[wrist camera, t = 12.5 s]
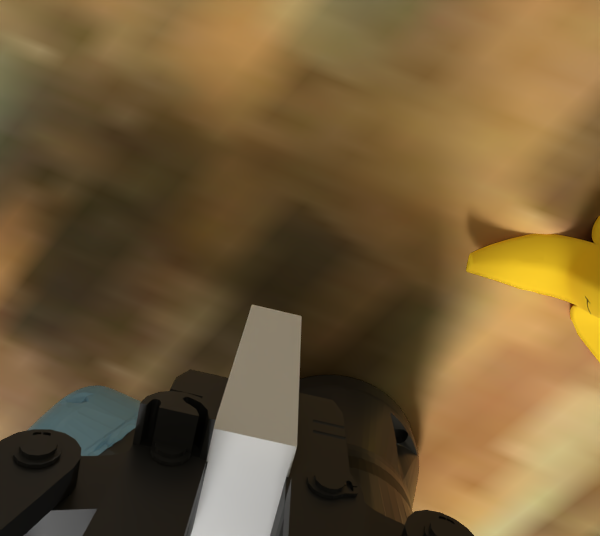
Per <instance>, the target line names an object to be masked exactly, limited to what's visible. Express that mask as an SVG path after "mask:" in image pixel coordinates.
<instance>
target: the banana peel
mask: <svg viewBox="0 0 600 536" xmlns="http://www.w3.org/2000/svg"><path fill="white" fill-rule="evenodd" d="M592 240H593V242H594V243H592V242H588V241H585V240H581V239H577V238H573V237H568V236H563V235H558V234H529V235H524V236H520V237H515V238H511V239H507V240H504V241H500V242H497V243H494V244H491V245H488V246H486V247H483V248H481V249H478V250H476V251H474V252H472V253H470V255H469V258H468V262H467V267H466V271H467V272H469V273H472V274H476V275H479V276H482V277H486V278H489V279H492V280H495V281H498V282H501V283H504V284H507V285H510V286H513V287H516V288H518V289H522V290H528V291H533V292H536V293H538V294H543V295H547V296H551V297H555V298H558V299H561V300H564V301H567V302H569V303H572V304H574V305H573V306H572V308H571V310H570V319H571V320H572V322H573V324H574V326H575V329H576V331H577V334H578V335H579V337H580V338H581V339H582V341H583V342H584V343H585V345H586V346H587V347H588V348H589V350H590V351H591V352H592V354H593V355H594V356H595V357H596V359H597V360H598V361H599V362H600V216H599V217H598V218H597V220H596V221H595V224H594V226H593V229H592Z"/></svg>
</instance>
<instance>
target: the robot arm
mask: <svg viewBox="0 0 600 536" xmlns="http://www.w3.org/2000/svg"><path fill="white" fill-rule="evenodd" d="M301 319H302V316H299V315H295V314H291V313H286V312H282V311H278V310H274V309H269V308H265V307H261V306H256V305H252V306H251V309H250V312H249V315H248V318H247V322H246V325H245V328H244V331H243V334H242V337H241V341H240V344H239V347H238V350H237V353H236V357H235V360H234V363H233V366H232V369H231V372H230V376H229V378H226V377H221V376H217V375H212V374H208V373H204V372H199V371H195V370H188V371H187V372H185V373H183V374H182V375H180V376H178V377H176V379H175V381H174V383H173V385H172V387H171V389H170V391H167V392H158V393H155V394H152V395H150V396H147V397H146V398H145V399H144V400H143V401H142V402H141V401H138V400H136V399H134V398H132V397H129V396H127V395H125V394H123V393H120V392H118V391H116V390H113V389H111V388H108V387H105V386H88V387H84V388H81V389H79V390H76V391H74V392H72V393H71V394H69V395H67V396H66V397H64V398H63V399H62V400H60V401H59V402H58V403H56V404H55V405H54V406H53V407H52V408H51V409H49V410H48V411H47V412H46V413H45V414H44V415H43V416H42V417H41V418H39V419H38V420H37V421H36V422H35V423H34V424H33V425H32V426H31V427H30V428H29V429H28V430H27V431H23V432H18V433H16V434H13V435H11V436H9V437H7V438H5V439H3V440H1V441H0V536H474V535H473V534H472V533H471V532H470V531H469V529H468V528H466V527H465V526H464V525H462V524H461V523H459V522H458V521H457V520H455V519H453V518H451V517H449V516H447V515H445V514H442V513H440V512H435V511H429V510H422V511H415V512H414V513H412V506H413V501H414V496H415V490H416V485H417V480H418V473H419V457H418V450H417V446H416V442H415V439H414V436H413V433H412V430H411V427H410V425H409V422H408V420H407V418H406V416H405V415H404V413H403V412H402V410H401V409H400V408H399V406H398V405H397V404H396V403H395V402H394V401H393V400H392V399H391V398H390V397H389V396H388V395H386V394H385V393H384V392H382V391H381V390H379V389H378V388H376V387H374V386H372V385H370V384H368V383H366V382H363V381H361V380H358V379H354V378H350V377H345V376H338V375H320V376H312V377H307V378H303V379H300V380H299V376H300V347H301Z"/></svg>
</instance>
